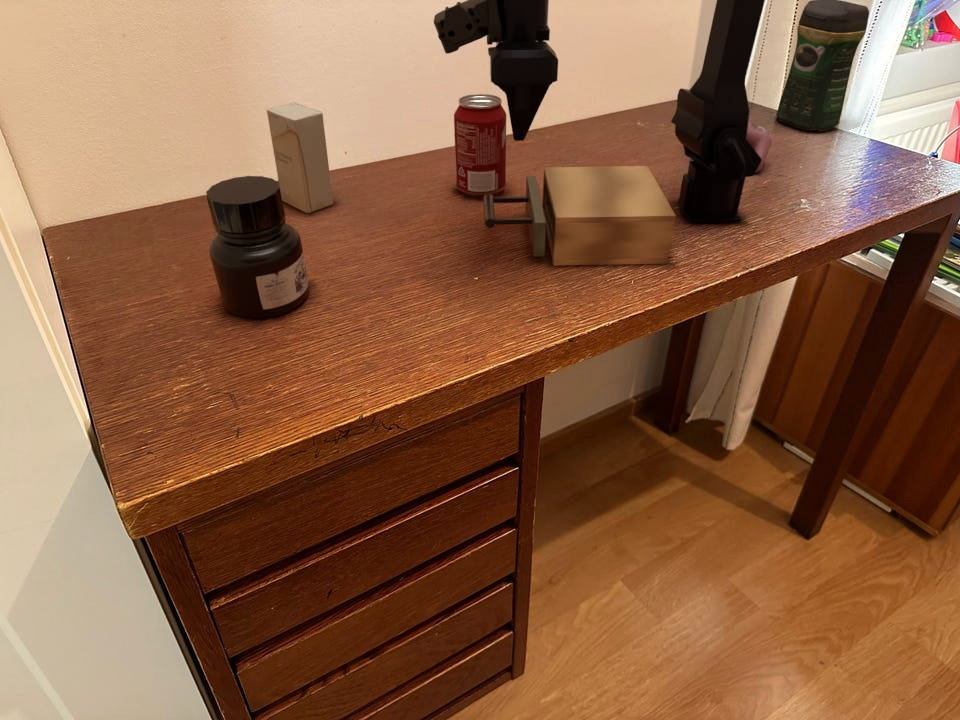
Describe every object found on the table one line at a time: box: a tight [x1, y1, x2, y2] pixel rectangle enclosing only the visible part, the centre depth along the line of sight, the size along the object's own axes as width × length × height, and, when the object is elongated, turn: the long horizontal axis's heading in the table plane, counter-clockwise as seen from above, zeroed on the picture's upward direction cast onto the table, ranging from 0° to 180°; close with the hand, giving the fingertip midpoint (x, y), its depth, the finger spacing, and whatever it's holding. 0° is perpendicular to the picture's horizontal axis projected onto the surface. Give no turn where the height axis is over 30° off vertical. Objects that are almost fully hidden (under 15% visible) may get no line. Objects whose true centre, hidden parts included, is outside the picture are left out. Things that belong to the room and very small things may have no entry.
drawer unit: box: [541, 165, 677, 267], centre depth 82 cm, size 13×14×6 cm
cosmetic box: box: [266, 101, 334, 214], centre depth 88 cm, size 6×4×12 cm
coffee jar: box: [776, 0, 870, 132], centre depth 110 cm, size 10×8×19 cm
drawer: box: [483, 175, 555, 257], centre depth 82 cm, size 17×13×4 cm
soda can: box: [453, 93, 507, 198], centre depth 91 cm, size 7×7×12 cm
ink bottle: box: [205, 175, 310, 318], centre depth 69 cm, size 10×9×12 cm
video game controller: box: [746, 121, 773, 174], centre depth 101 cm, size 10×5×7 cm, turn 58°
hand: (516, 129), depth 76 cm, fingers open, 7 cm apart
